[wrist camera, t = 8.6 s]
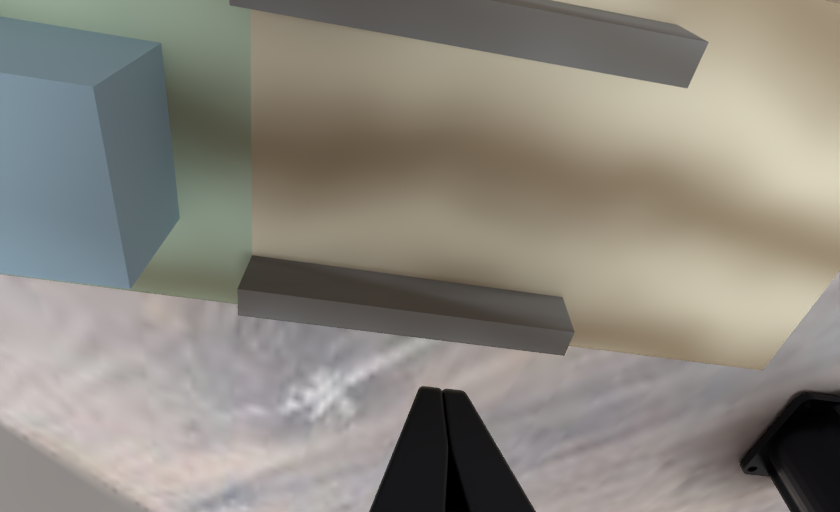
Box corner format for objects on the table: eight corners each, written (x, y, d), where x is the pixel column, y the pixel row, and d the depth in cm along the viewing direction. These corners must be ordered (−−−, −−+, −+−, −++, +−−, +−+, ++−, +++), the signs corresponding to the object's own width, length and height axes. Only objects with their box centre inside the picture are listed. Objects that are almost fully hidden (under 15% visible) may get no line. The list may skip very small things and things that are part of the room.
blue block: (179, 218, 19) (130, 289, 16) (-1, 194, 18) (-92, 262, 15) (161, 42, 16) (92, 86, 12) (-62, 6, 15) (-196, 41, 12)
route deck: (740, 338, 25) (788, 406, 22) (-258, 206, 21) (-384, 267, 18) (962, 24, 17) (1089, 59, 14) (-575, -293, 13) (-908, -350, 10)
